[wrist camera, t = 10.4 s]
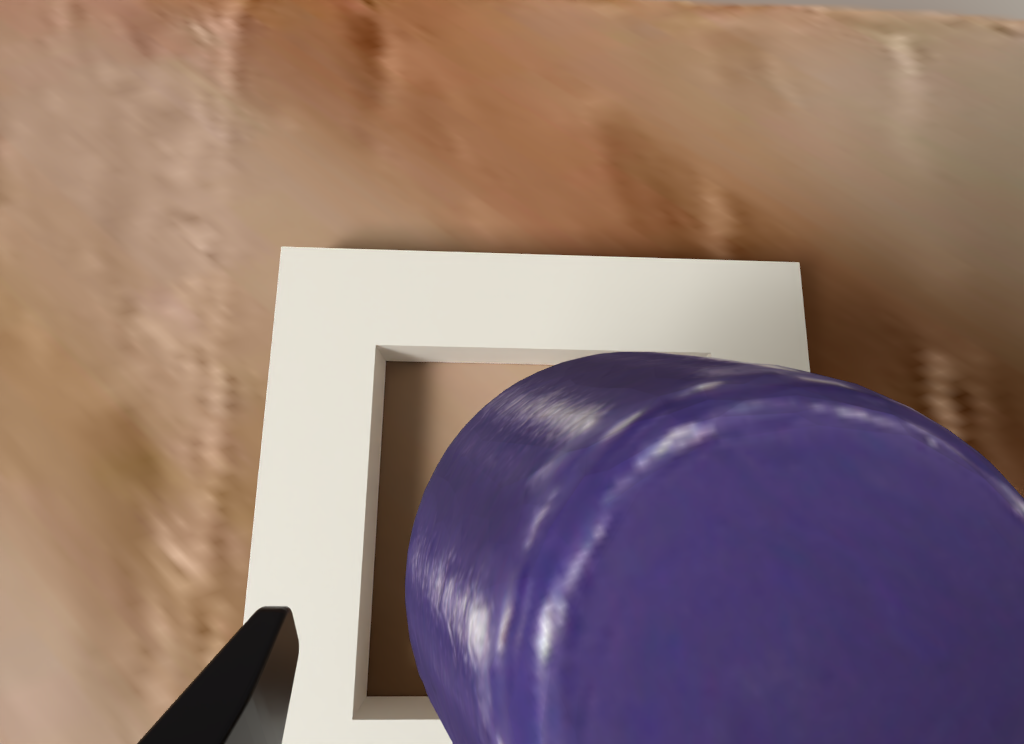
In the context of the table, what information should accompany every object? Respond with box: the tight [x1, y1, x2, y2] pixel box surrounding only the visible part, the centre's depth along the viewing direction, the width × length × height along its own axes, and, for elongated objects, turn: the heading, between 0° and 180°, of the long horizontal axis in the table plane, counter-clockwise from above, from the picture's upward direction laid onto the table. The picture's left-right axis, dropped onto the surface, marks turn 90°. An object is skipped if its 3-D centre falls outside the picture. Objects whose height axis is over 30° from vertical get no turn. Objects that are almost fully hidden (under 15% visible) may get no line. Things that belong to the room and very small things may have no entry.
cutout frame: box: [243, 247, 810, 744], centre depth 18 cm, size 16×16×2 cm
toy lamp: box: [405, 352, 1024, 744], centre depth 11 cm, size 5×5×17 cm
